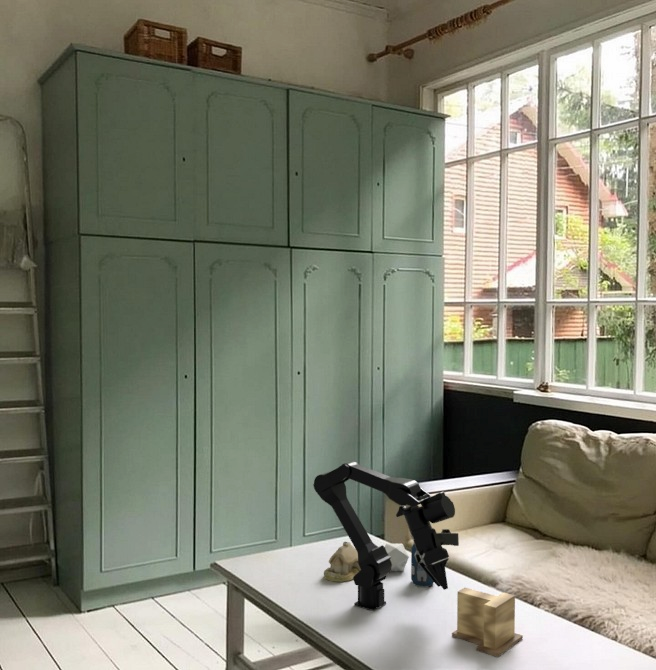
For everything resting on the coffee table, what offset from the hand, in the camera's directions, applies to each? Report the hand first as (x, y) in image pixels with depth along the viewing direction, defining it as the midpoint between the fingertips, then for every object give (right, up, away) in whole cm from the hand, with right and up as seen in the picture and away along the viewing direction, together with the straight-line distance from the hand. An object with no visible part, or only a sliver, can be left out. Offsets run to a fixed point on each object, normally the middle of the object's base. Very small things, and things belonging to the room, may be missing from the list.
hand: (442, 587), depth 196 cm
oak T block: (+9, -9, -9) cm, 16 cm away
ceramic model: (-24, -8, +37) cm, 45 cm away
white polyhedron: (-9, -8, +41) cm, 43 cm away
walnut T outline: (+9, -10, -9) cm, 16 cm away
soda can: (-1, -9, +29) cm, 31 cm away
